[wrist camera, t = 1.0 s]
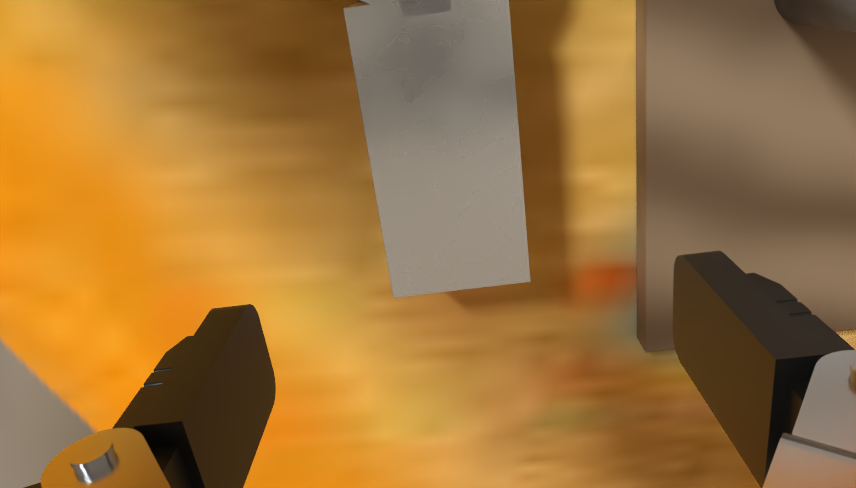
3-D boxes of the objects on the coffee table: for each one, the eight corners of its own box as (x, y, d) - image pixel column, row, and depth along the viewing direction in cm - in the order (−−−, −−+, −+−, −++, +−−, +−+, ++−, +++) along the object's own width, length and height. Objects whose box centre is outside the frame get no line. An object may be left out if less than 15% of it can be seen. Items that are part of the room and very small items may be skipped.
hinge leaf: (312, -174, 21) (287, -205, 17) (494, -202, 21) (509, -240, 17) (386, 254, 27) (380, 299, 23) (528, 237, 27) (544, 280, 23)
